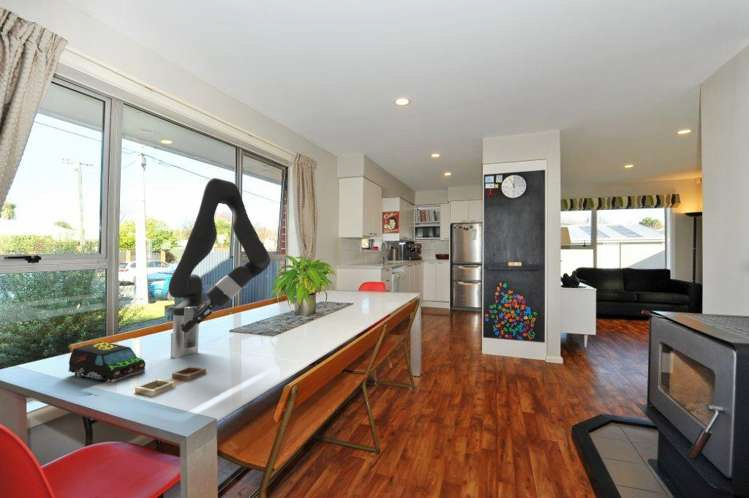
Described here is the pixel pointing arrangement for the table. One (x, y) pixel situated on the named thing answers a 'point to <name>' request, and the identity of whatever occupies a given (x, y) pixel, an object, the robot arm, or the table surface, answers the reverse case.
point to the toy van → (105, 362)
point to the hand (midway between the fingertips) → (183, 329)
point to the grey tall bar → (190, 336)
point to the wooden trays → (169, 381)
